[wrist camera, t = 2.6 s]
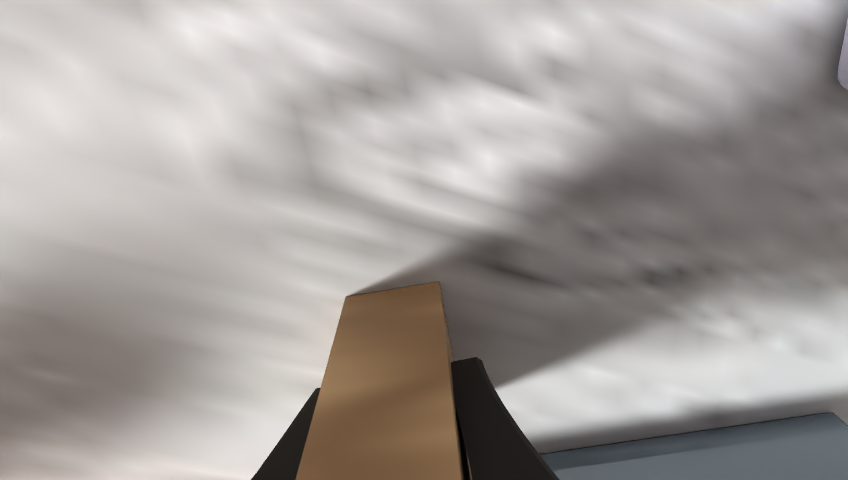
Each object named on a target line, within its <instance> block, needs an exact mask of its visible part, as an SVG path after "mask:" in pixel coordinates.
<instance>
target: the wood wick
mask: <svg viewBox="0 0 848 480" xmlns="http://www.w3.org/2000/svg"><path fill="white" fill-rule="evenodd" d="M451 362H454V360H453V354H452V349H451V343H450V338H449V333H448V327H447V322H446V316H445V311H444V306H443V300H442V295H441V289H440V284H439V282H433V283H427V284H421V285H415V286H409V287H403V288H397V289H391V290H385V291H379V292H373V293H367V294H361V295H355V296H349V297H346V298H345V302H344V305H343V309H342V312H341V316H340V320H339V323H338V327H337V331H336V334H335V338H334V342H333V345H332V349H331V352H330V356H329V360H328V363H327V367H326V371H325V374H324V378H323V382H322V385H321V389H320V392H319V396H318V400H317V403H316V407H315V411H314V414H313V418H312V422H311V425H310V429H309V432H308V436H307V440H306V443H305V447H304V451H303V454H302V458H301V462H300V465H299V469H298V472H297V476H296V480H472V476H471V470H470V464H469V460H468V455H467V451H466V447H465V443H464V439H463V435H462V430H461V426H460V422H459V418H458V414H457V410H456V405H455V401H454V393H453V382H452V371H451Z"/></svg>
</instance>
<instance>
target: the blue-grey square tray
mask: <svg viewBox="0 0 848 480" xmlns="http://www.w3.org/2000/svg"><path fill="white" fill-rule="evenodd" d="M540 456H541V457H542V459H543V460H544V461H545V463H546V464H547V465H548V466H549V467H550V469H551V470H552V471H553V472H554V473H555V475H556V476H557V477H558V478H559V479H560V480H848V425H847V424H846V423H844V422H843V421H842V420H841V419H840V418H839V417H837V416H836V415H835V414H834V413H833V412H831V413H824V414H817V415H811V416H804V417H797V418H790V419H783V420H776V421H769V422H762V423H755V424H748V425H741V426H734V427H727V428H720V429H714V430H707V431H700V432H693V433H686V434H679V435H672V436H665V437H658V438H651V439H644V440H637V441H630V442H623V443H616V444H610V445H603V446H596V447H589V448H582V449H575V450H568V451H561V452H554V453H547V454H540ZM471 476H472V475H471Z"/></svg>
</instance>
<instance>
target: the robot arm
mask: <svg viewBox="0 0 848 480" xmlns="http://www.w3.org/2000/svg"><path fill="white" fill-rule="evenodd" d="M838 80H839V82H840V84H841V86H842V87H844V88H846V89H847V90H848V19H847V25H846V30H845V35H844V40H843V46H842V51H841V56H840V62H839V67H838ZM451 371H452V382H453V393H454V401H455V405H456V410H457V414H458V418H459V422H460V426H461V430H462V435H463V439H464V443H465V447H466V451H467V455H468V460H469V464H470V470H471V475H472V480H560V479H559V478H558V477H557V476H556V475H555V473H554V472H553V471H552V470H551V469H550V467H549V466H548V465H547V464H546V463H545V461H544V460H543V459H542V457H541V456H540V455H539V454H538V452H537V451H536V450H535V448H534V447H533V446H532V445H531V443H530V442H529V441H528V439H527V438H526V436H525V435H524V434H523V432H522V431H521V430H520V428H519V427H518V425H517V424H516V422H515V421H514V419H513V418H512V416H511V415H510V413H509V412H508V410H507V409H506V407H505V406H504V404H503V403H502V401H501V399H500V398H499V396H498V394H497V392H496V391H495V389H494V387H493V385H492V383H491V382H490V380H489V378H488V375H487V373H486V371H485V368H484V366H483V363H482V360H480V359H478V358H477V357H475V358H470V359H464V360H459V361H454V362H451ZM320 389H321V388H316V389H315V391H314V392H313V393H312V395H311V396H310V398H309V399H308V401H307V402H306V403H305V405H304V406H303V408H302V409H301V411H300V412H299V413H298V415H297V416H296V418H295V419H294V421H293V422H292V424H291V425H290V426H289V428H288V429H287V431H286V432H285V434H284V435H283V436H282V438H281V439H280V441H279V442H278V444H277V445H276V446H275V448H274V449H273V451H272V452H271V453H270V455H269V456H268V458H267V459H266V460H265V462H264V463H263V464H262V466H261V467H260V469H259V470H258V471H257V473H256V474H255V475H254V477H253V478H252V479H251V480H296V476H297V472H298V469H299V465H300V462H301V458H302V454H303V451H304V447H305V443H306V440H307V436H308V432H309V429H310V425H311V422H312V418H313V414H314V411H315V407H316V403H317V400H318V396H319V392H320Z"/></svg>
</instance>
